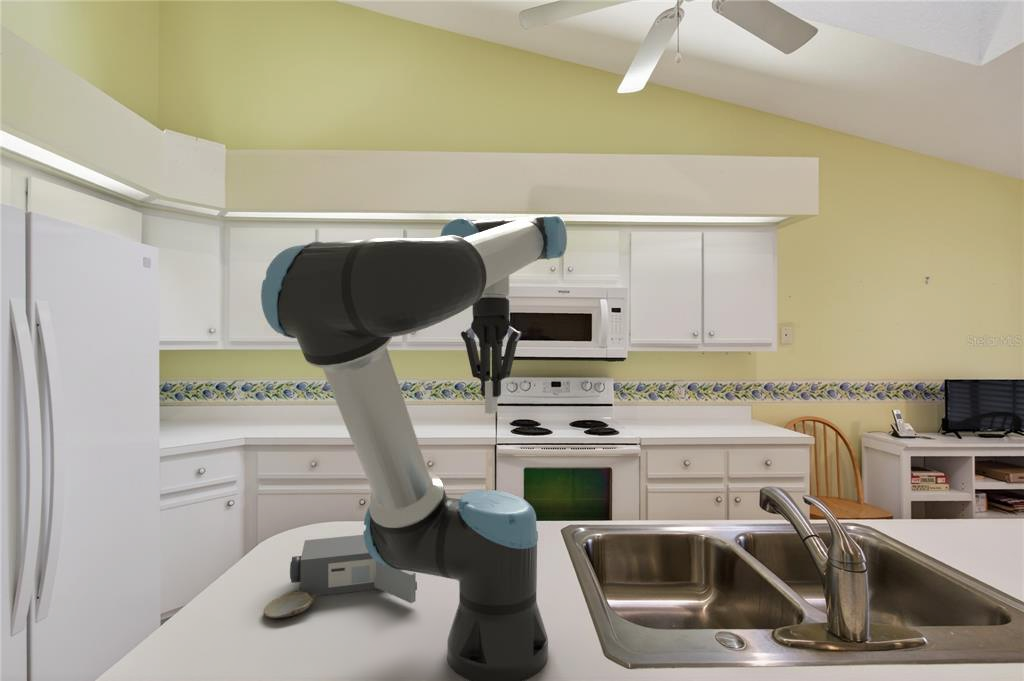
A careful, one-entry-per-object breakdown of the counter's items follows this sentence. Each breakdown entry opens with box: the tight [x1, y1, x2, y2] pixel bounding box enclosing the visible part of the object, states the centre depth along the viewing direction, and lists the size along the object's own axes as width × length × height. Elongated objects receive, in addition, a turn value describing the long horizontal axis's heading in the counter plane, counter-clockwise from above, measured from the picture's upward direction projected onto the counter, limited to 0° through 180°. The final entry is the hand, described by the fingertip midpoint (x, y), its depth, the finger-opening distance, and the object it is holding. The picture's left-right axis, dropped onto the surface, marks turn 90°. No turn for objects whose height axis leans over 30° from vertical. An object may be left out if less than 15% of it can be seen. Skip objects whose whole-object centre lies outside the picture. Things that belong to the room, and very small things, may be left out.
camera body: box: [289, 534, 379, 598], centre depth 106 cm, size 10×18×8 cm, turn 106°
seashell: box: [263, 590, 316, 619], centre depth 95 cm, size 8×3×8 cm
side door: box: [374, 560, 418, 604], centre depth 99 cm, size 2×10×5 cm, turn 52°
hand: (491, 412), depth 112 cm, fingers closed
